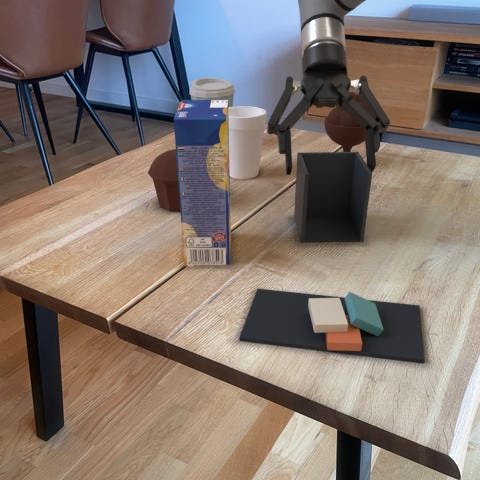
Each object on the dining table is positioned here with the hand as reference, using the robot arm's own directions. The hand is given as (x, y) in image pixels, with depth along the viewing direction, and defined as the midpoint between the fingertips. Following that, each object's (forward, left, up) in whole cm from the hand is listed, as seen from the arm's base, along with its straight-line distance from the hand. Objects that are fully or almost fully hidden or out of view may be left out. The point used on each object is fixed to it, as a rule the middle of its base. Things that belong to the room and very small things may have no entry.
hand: (330, 170), depth 91 cm
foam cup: (+20, -23, -10) cm, 32 cm away
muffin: (+27, -5, -10) cm, 30 cm away
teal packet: (-7, +30, -7) cm, 32 cm away
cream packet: (-3, +32, -7) cm, 33 cm away
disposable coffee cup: (+31, -41, -10) cm, 52 cm away
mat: (-3, +30, -10) cm, 32 cm away
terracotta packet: (-5, +34, -8) cm, 35 cm away
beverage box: (+18, +13, -10) cm, 24 cm away
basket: (0, +2, -10) cm, 10 cm away
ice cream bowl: (-1, -34, -10) cm, 35 cm away
